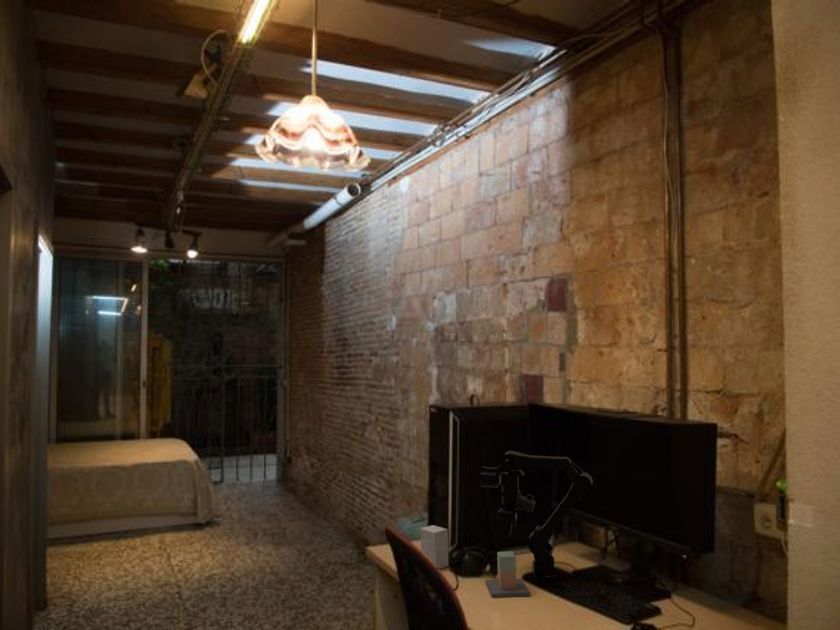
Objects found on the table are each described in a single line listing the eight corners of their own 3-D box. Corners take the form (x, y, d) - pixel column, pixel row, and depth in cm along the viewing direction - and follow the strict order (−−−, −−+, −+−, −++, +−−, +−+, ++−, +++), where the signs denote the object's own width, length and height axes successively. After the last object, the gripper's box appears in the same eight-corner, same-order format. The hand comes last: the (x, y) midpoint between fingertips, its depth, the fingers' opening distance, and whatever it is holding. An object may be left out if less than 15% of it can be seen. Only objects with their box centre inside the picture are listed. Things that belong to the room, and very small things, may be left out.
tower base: (521, 582, 213) (521, 578, 213) (529, 596, 201) (529, 592, 202) (485, 583, 213) (485, 579, 213) (491, 597, 201) (491, 593, 201)
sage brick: (512, 567, 210) (512, 551, 210) (515, 572, 205) (515, 556, 205) (497, 567, 210) (497, 551, 210) (500, 572, 205) (499, 556, 205)
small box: (448, 566, 229) (448, 529, 230) (435, 570, 225) (434, 532, 226) (434, 560, 236) (433, 524, 236) (420, 564, 232) (420, 527, 232)
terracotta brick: (513, 582, 210) (512, 567, 210) (516, 588, 205) (516, 572, 205) (497, 583, 209) (497, 567, 210) (500, 589, 204) (500, 573, 205)
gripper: (530, 496, 212) (530, 544, 212) (537, 484, 230) (537, 528, 229) (496, 493, 216) (496, 541, 215) (506, 482, 233) (506, 526, 233)
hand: (510, 534), depth 223 cm, fingers open, 9 cm apart
